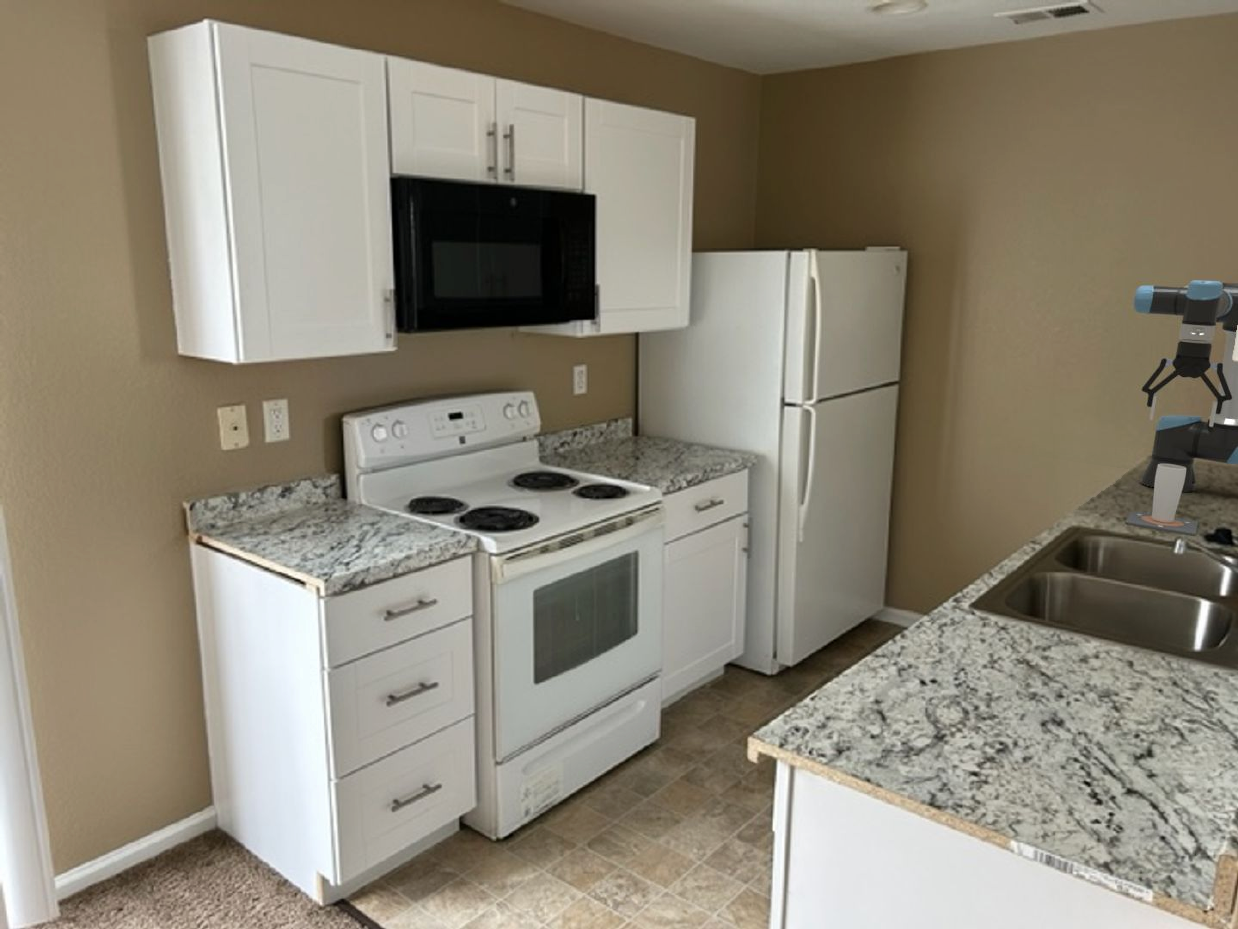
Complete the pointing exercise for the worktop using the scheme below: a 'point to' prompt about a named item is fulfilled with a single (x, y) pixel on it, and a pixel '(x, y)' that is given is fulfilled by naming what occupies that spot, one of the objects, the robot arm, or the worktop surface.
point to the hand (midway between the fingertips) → (1180, 422)
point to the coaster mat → (1176, 526)
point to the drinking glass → (1167, 491)
